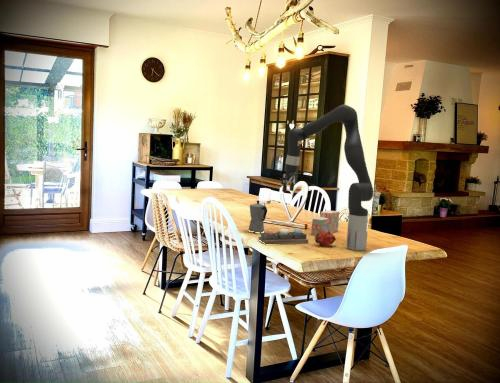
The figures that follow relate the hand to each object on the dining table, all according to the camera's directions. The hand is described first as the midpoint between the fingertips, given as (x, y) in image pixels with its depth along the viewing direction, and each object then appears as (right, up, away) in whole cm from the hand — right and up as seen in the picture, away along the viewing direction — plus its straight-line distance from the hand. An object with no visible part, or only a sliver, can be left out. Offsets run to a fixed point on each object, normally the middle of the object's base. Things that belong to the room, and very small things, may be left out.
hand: (287, 191), depth 267 cm
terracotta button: (-12, -22, -31) cm, 40 cm away
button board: (-5, -26, -28) cm, 38 cm away
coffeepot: (-18, -23, -6) cm, 30 cm away
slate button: (+3, -23, -25) cm, 34 cm away
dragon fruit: (+16, -28, -31) cm, 45 cm away
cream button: (-4, -23, -28) cm, 36 cm away
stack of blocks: (+22, -25, +4) cm, 33 cm away
